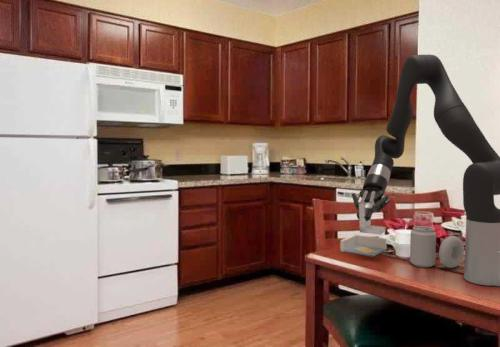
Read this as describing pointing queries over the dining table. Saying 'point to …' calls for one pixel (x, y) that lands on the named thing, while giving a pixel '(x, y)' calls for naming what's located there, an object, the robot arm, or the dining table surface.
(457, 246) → the donut
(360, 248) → the base plate
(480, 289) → the dining table surface
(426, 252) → the can
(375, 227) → the bracket
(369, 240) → the walls
